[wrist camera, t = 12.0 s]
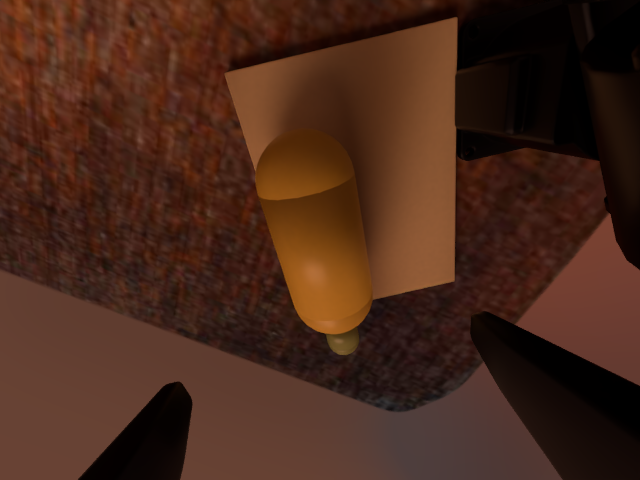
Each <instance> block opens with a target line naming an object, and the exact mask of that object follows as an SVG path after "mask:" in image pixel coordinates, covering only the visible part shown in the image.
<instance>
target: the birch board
mask: <svg viewBox="0 0 640 480" xmlns="http://www.w3.org/2000/svg"><path fill="white" fill-rule="evenodd" d="M457 26H458V18H457V17H453V18H449V19H445V20H441V21H437V22H433V23H428V24H424V25H420V26H416V27H412V28H408V29H403V30H399V31H395V32H391V33H387V34H383V35H378V36H374V37H370V38H366V39H362V40H358V41H354V42H349V43H345V44H341V45H337V46H333V47H329V48H324V49H320V50H316V51H312V52H308V53H304V54H299V55H295V56H291V57H287V58H283V59H279V60H274V61H270V62H266V63H262V64H258V65H254V66H249V67H245V68H241V69H237V70H233V71H229V72H225V77H226V80H227V83H228V87H229V90H230V93H231V96H232V99H233V102H234V106H235V109H236V112H237V115H238V118H239V121H240V124H241V128H242V131H243V134H244V137H245V140H246V143H247V147H248V150H249V153H250V156H251V159H252V162H253V165H254V169H255V172H256V169H257V163H258V161H259V159H260V156H261V154H262V152H263V151H264V150H265V148H266V147H267V145H268V144H269V143H270V142H272V141H273V140H274V139H275V138H276V137H278V136H279V135H281V134H283V133H284V132H287V131H291V130H294V129H300V128H308V129H315V130H319V131H322V132H325V133H326V134H328V135H330V136H332V137H333V138H335V139H336V140H337V141H338V142H339V143H340V144H341V145H342V146H343V147H344V149H345V150H346V151H347V153H348V155H349V157H350V159H351V161H352V164H353V168H354V172H355V178H356V185H357V191H358V198H359V204H360V210H361V217H362V223H363V230H364V236H365V242H366V249H367V255H368V262H369V268H370V274H371V281H372V287H373V299H378V298H382V297H386V296H391V295H395V294H400V293H404V292H408V291H413V290H417V289H422V288H426V287H431V286H435V285H439V284H444V283H448V282H453V281H454V279H455V194H456V126H455V75H456V73H457ZM373 299H372V300H373Z"/></svg>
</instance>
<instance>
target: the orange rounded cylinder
mask: <svg viewBox="0 0 640 480" xmlns="http://www.w3.org/2000/svg"><path fill="white" fill-rule="evenodd" d="M256 189H257V193H258V197H259V200H260V203H261V206H262V209H263V212H264V215H265V218H266V221H267V224H268V227H269V230H270V234H271V237H272V240H273V243H274V246H275V249H276V252H277V255H278V258H279V261H280V264H281V267H282V270H283V273H284V276H285V279H286V282H287V286H288V289H289V292H290V295H291V298H292V301H293V304H294V307H295V309H296V311H297V313H298V315H299V317H300V318H301V319H302V320H303V321H304V322H305V323H306V324H307V325H308V326H310V327H311V328H313V329H314V330H316V331H319V332H321V333H326V337H327V340H328V344H329V346H330V348H331V349H332V350H333V351H334V352H336V353H337V354H340V355H347V354H350V353H352V352H353V351H354V350H355V349H356V348H357V346H358V343H359V334H358V329H357V325H359V324H360V323H361V322H362V321H363V320H364V318H365V317H366V315H367V314H368V312H369V310H370V307H371V304H372V299H373V287H372V281H371V274H370V268H369V262H368V255H367V249H366V242H365V236H364V230H363V223H362V217H361V210H360V204H359V198H358V191H357V185H356V178H355V172H354V168H353V164H352V161H351V159H350V157H349V155H348V153H347V151H346V150H345V149H344V147H343V146H342V145H341V144H340V143H339V142H338V141H337V140H336V139H335V138H333V137H332V136H330V135H328V134H326V133H325V132H322V131H319V130H315V129H308V128H300V129H294V130H291V131H287V132H284V133H283V134H281V135H279V136H278V137H276V138H275V139H274V140H273V141H272V142H270V143H269V144H268V145H267V147H266V148H265V150H264V151H263V152H262V154H261V156H260V159H259V161H258V163H257V169H256Z"/></svg>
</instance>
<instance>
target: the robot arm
mask: <svg viewBox="0 0 640 480" xmlns="http://www.w3.org/2000/svg"><path fill="white" fill-rule="evenodd" d="M470 28H473V30H474V36H473V38H472V39H471V38H470V37H469V34H468V33H469V29H470ZM455 126H456V127H457V155H458V157H459V158H460V159H462V160H466V161H470V160H474V159H479V158H483V157H487V156H491V155H496V154H500V153H504V152H509V151H513V150H517V149H522V148H532V149H537V150H543V151H548V152H553V153H559V154H564V155H570V156H575V157H581V158H586V159H592V160H597V161H600V166H601V171H602V175H603V180H604V185H605V190H606V195H607V196H606V197H605V198H604V202H605V207H606V210H607V211H608V212H609V213H610V214H611V218H612V223H613V228H614V233H615V238H616V241H617V243H618V245H619V246H620V248H621V250H622V252H623V254H624V256H625V258H626V259H627V261H629V262H630V263H632V264H633V265H634V266H635V267H637V268H638V269H639V270H640V0H551V1H547V2H543V3H539V4H535V5H530V6H526V7H522V8H518V9H514V10H510V11H505V12H501V13H497V14H493V15H489V16H484V17H480V18H476V19H473V20H471V21H469V22H467V23H465V24H464V25H463V26H462V28H461V30H460V32H459V51H458V72H457V73H456V75H455ZM469 147H470V152H469V153H468V154H467V155H466V154H465V151H466V149H467V148H469ZM470 334H471V338H472V341H473V343H474V345H475V346H476V348H477V350H478V352H479V353H480V355H481V357H482V359H483V361H484V362H485V364H486V366H487V368H488V369H489V371H490V373H491V375H492V376H493V378H494V380H495V382H496V383H497V385H498V387H499V389H500V390H501V392H502V393H503V395H504V396H505V398H506V399H507V401H508V402H509V403H510V405H511V406H512V408H513V409H514V411H515V412H516V413H517V415H518V416H519V418H520V419H521V421H522V422H523V423H524V425H525V426H526V428H527V429H528V431H529V432H530V433H531V435H532V436H533V438H534V439H535V441H536V442H537V444H538V445H539V446H540V448H541V449H542V451H543V452H544V453H545V455H546V456H547V458H548V459H549V461H550V462H551V464H552V465H553V466H554V468H555V469H556V471H557V472H558V474H559V475H560V477H561V478H562V479H563V480H640V386H639V385H637V384H635V383H633V382H631V381H628V380H627V379H624V378H623V377H621V376H618V375H616V374H614V373H612V372H610V371H608V370H606V369H604V368H602V367H600V366H598V365H596V364H594V363H592V362H590V361H588V360H586V359H583V358H582V357H580V356H577V355H575V354H573V353H571V352H569V351H567V350H565V349H563V348H561V347H559V346H557V345H555V344H553V343H551V342H549V341H546V340H545V339H543V338H541V337H539V336H536V335H534V334H532V333H530V332H528V331H526V330H524V329H522V328H520V327H518V326H516V325H514V324H512V323H510V322H508V321H506V320H504V319H502V318H500V317H498V316H496V315H494V314H491V313H489V312H486V311H483V312H479V313H474V314H473V315H472V316H471V331H470ZM191 411H192V399H191V396H190V395H189V393H188V392H187V390H186V389H185V387H184V386H183V384H182V383H181V382H174V383H169V384H166V385H165V386H163V387H162V388H161V389H160V391H159V392H158V393H157V394H156V395H155V396H154V397H153V398H152V399H151V400H150V401H149V403H148V404H147V405H146V406H145V407H144V408H143V409H142V410H141V412H139V414H138V415H137V416H136V417H135V418H134V419H133V420H132V421H131V422H130V423H129V424H128V425H127V427H126V428H125V429H124V430H123V431H122V432H121V433H120V434H119V435H118V436H117V437H116V439H115V440H114V441H113V442H112V443H111V444H110V445H109V446H108V447H107V448H106V449H105V451H104V452H103V453H102V454H101V455H100V456H99V457H98V458H97V459H96V460H95V461H94V462H93V464H92V465H91V466H90V467H89V468H88V469H87V470H86V471H85V472H84V473H83V474H82V476H81V477H80V478H79V479H78V480H180V478H181V473H182V469H183V464H184V459H185V453H186V446H187V439H188V432H189V425H190V418H191Z"/></svg>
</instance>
